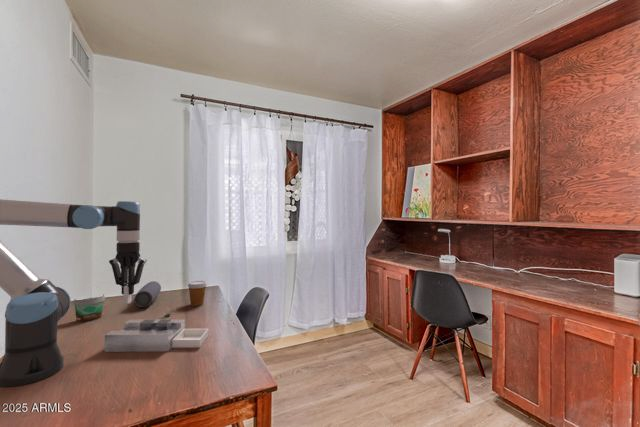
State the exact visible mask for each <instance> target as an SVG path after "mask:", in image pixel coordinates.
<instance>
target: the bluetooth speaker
mask: <svg viewBox="0 0 640 427" xmlns="http://www.w3.org/2000/svg"><path fill="white" fill-rule="evenodd" d="M161 290H162V286H161V284H160V282H158V281H152V280H151V281H150V282H147V283H146V284H145V285H143V286H142V287H141V288H140V289H139V290H138V291H137V293H135V296H134V303H135V305H136V306H138V307H140V308H145V307H147V306H151V304H152V303H153V302H155V300H156V299H157V298H158V296H159V294H160V293H161Z"/></svg>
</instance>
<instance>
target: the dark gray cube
mask: <svg viewBox="0 0 640 427" xmlns="http://www.w3.org/2000/svg"><path fill="white" fill-rule="evenodd" d="M155 329H156V320H144V321H142V322H141V323H140V331H155Z"/></svg>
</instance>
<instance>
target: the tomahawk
mask: <svg viewBox="0 0 640 427" xmlns="http://www.w3.org/2000/svg"><path fill="white" fill-rule="evenodd" d="M169 316H171V313H170V312H169V313H166V314H165V315H164V316H162V317H160V318H159V319H168V317H169Z"/></svg>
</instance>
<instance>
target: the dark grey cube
mask: <svg viewBox="0 0 640 427" xmlns="http://www.w3.org/2000/svg"><path fill="white" fill-rule="evenodd" d="M169 330H171V320H160V321H159V322H157V323H156V331H169Z"/></svg>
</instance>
